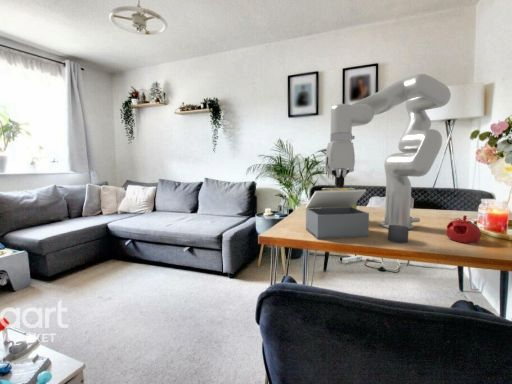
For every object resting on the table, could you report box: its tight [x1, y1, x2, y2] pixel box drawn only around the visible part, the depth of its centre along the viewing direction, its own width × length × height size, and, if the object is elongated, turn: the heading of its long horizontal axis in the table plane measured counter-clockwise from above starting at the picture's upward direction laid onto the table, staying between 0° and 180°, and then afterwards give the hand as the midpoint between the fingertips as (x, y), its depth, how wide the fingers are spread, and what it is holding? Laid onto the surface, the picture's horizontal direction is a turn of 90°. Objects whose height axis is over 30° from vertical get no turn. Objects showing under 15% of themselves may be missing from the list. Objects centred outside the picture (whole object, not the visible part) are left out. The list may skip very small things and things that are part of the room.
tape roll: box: [387, 225, 410, 244], centre depth 96 cm, size 6×6×5 cm
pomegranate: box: [446, 215, 482, 244], centre depth 94 cm, size 10×10×9 cm
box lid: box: [305, 188, 367, 209], centre depth 107 cm, size 20×14×1 cm
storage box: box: [305, 207, 370, 240], centre depth 106 cm, size 20×14×9 cm
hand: (339, 187), depth 102 cm, fingers closed
